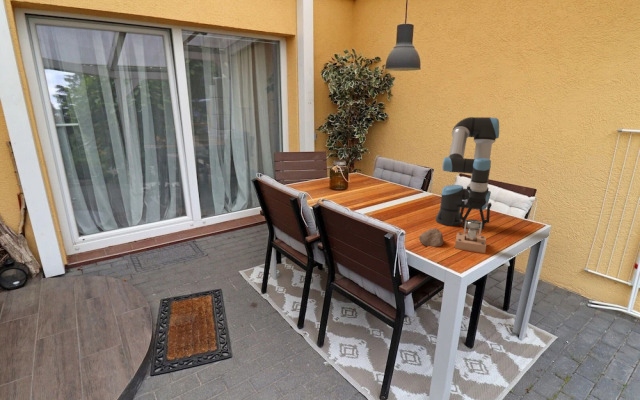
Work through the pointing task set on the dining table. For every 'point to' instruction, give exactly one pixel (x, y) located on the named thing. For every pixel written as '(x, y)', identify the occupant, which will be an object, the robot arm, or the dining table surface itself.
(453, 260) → the dining table surface
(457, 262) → the dining table surface
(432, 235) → the stone
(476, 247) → the housing
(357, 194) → the dining table surface
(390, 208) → the dining table surface
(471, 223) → the grey metal plug
